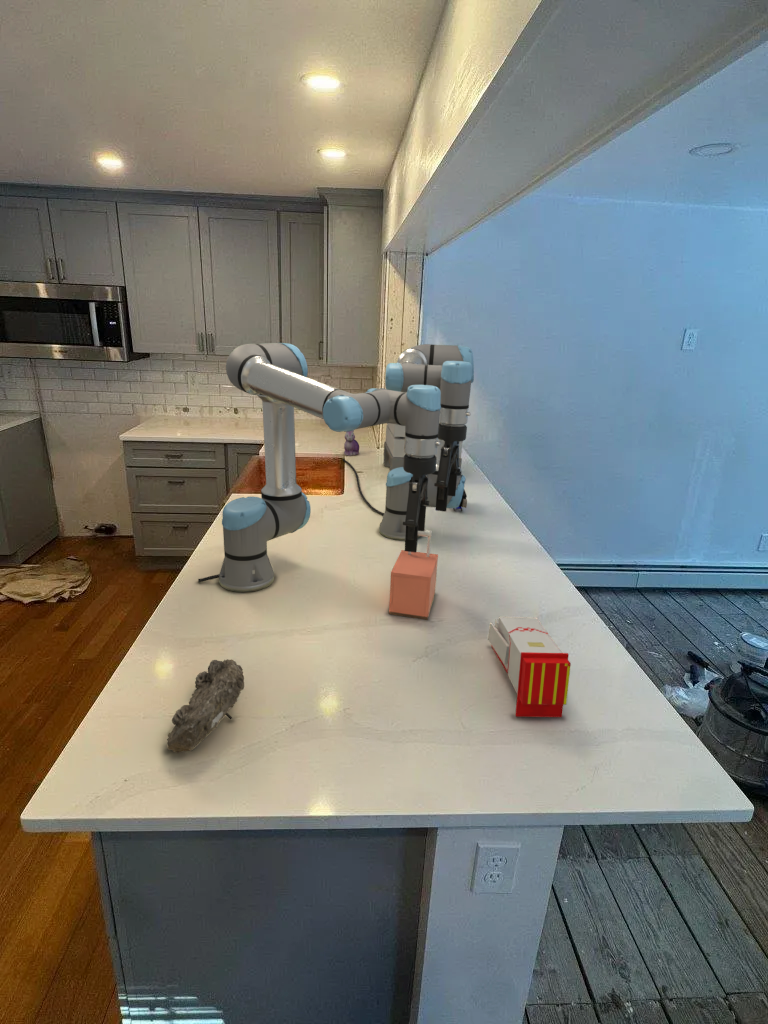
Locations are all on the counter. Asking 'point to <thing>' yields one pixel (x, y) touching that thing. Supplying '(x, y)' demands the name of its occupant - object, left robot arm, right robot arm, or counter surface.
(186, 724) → the fossil
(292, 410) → the left robot arm
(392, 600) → the chest
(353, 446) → the figurine
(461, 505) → the figurine character
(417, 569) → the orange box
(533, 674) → the toy
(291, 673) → the counter surface
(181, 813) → the counter surface
